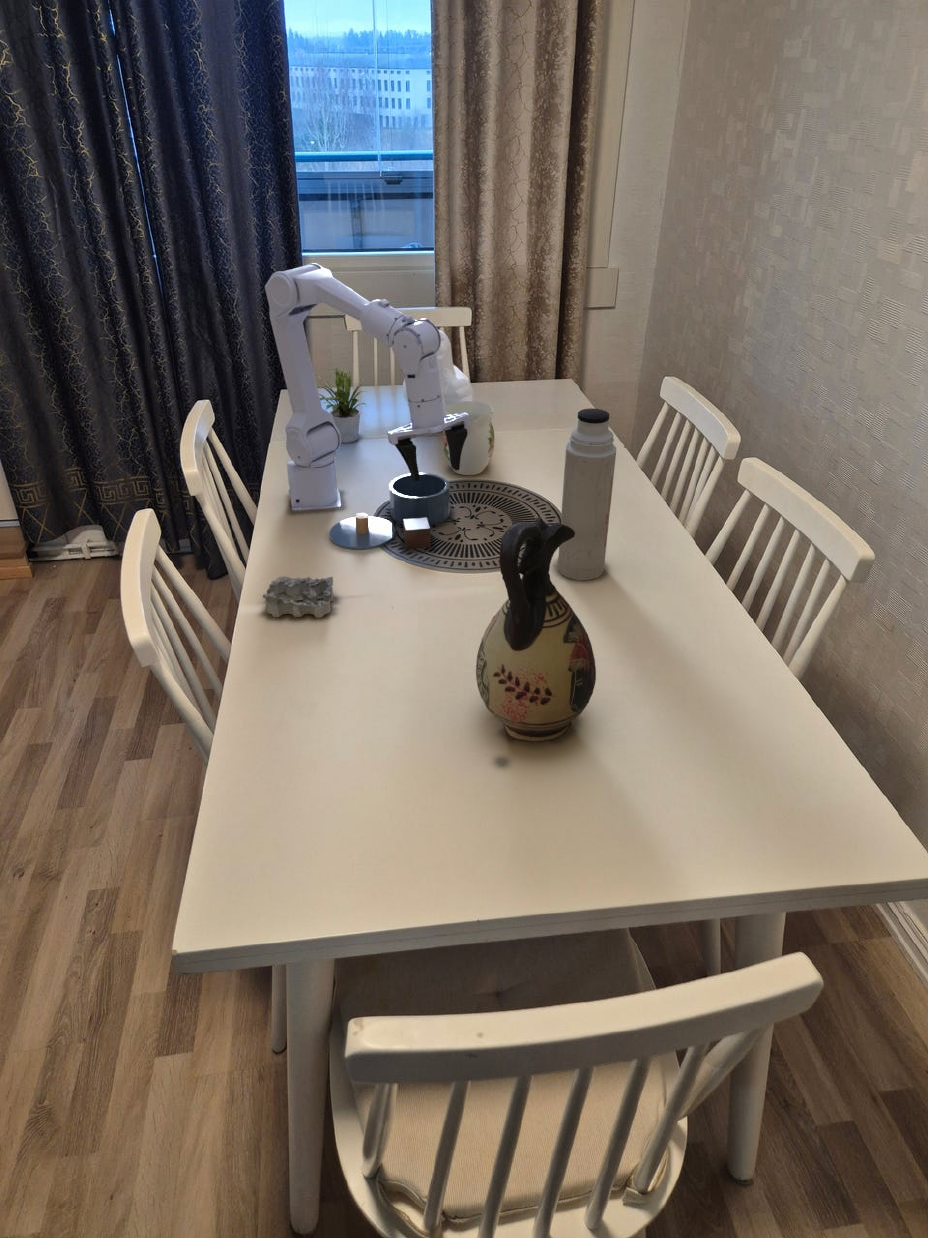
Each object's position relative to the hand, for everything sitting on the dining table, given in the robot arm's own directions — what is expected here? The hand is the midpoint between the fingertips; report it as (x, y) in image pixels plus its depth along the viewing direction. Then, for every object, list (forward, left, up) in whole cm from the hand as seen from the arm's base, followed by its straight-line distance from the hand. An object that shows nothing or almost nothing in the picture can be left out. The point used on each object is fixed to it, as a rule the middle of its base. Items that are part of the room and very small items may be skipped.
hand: (435, 474), depth 148 cm
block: (-4, -2, -13) cm, 14 cm away
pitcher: (+11, +31, -13) cm, 35 cm away
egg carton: (-25, -19, -13) cm, 34 cm away
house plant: (-15, +53, -13) cm, 57 cm away
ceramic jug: (+5, -53, -13) cm, 55 cm away
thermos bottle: (+23, -15, -13) cm, 30 cm away
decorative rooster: (+9, +55, -13) cm, 57 cm away
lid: (-13, +3, -12) cm, 18 cm away
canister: (-2, +10, -13) cm, 16 cm away
